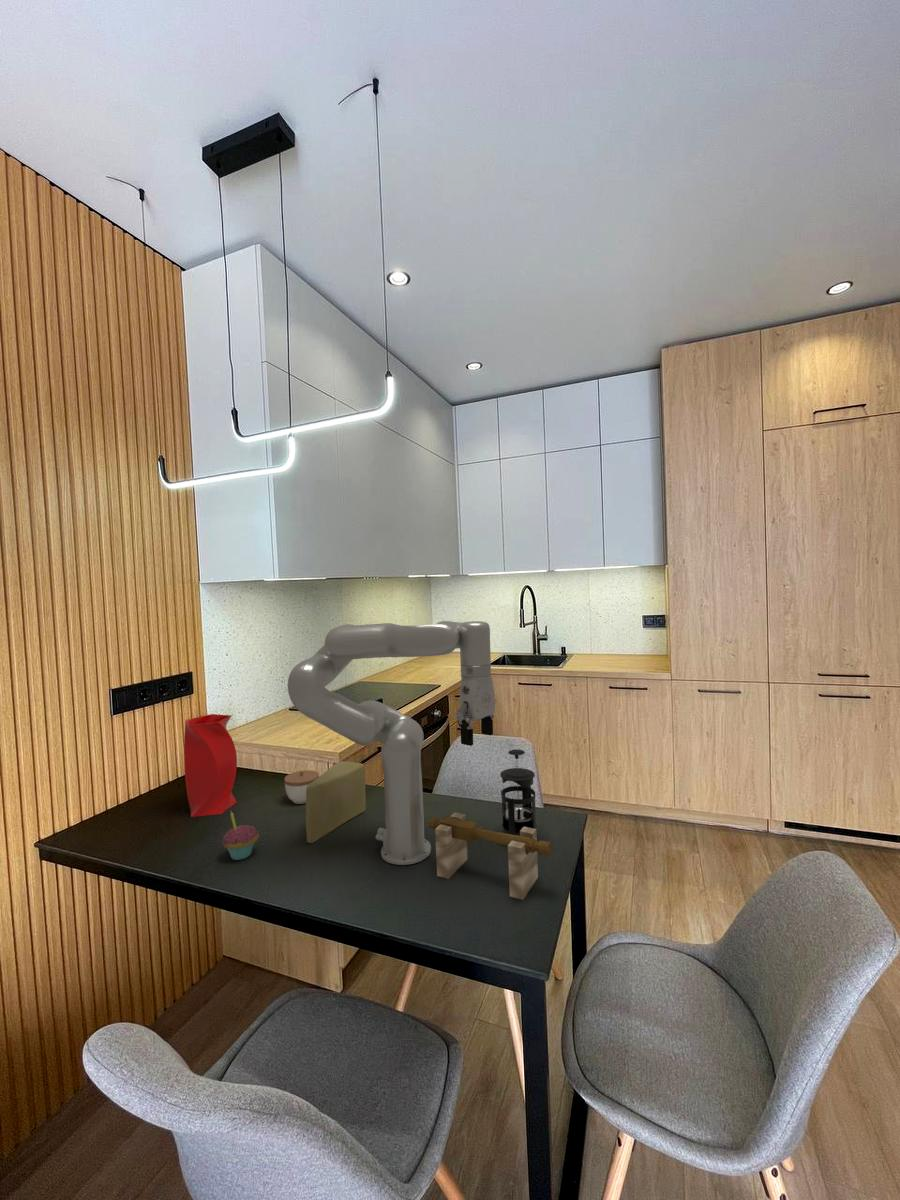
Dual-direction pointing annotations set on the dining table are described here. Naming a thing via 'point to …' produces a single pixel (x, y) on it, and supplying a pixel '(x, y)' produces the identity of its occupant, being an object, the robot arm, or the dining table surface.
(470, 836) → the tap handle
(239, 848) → the cupcake
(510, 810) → the french press
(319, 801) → the cheese
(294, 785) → the lidded jar
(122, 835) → the dining table surface
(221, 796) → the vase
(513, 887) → the block
